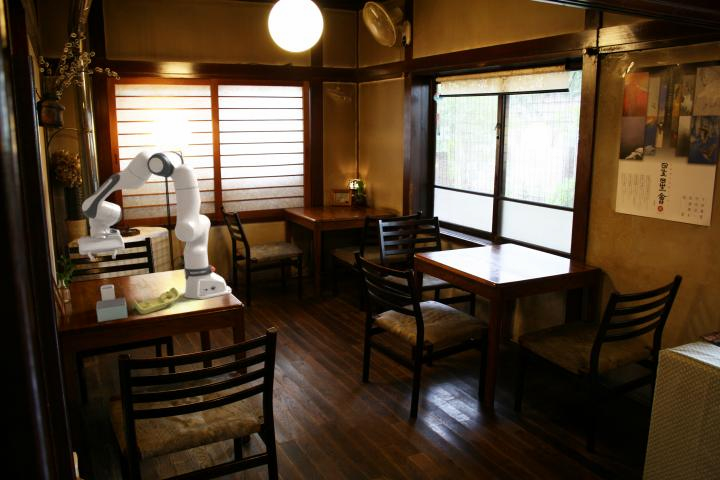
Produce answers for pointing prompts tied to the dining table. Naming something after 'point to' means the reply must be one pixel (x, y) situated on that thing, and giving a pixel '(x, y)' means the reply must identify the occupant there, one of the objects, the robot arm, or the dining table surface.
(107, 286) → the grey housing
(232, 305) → the dining table surface
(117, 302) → the stand
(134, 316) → the dining table surface
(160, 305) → the plastic component
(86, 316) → the dining table surface
